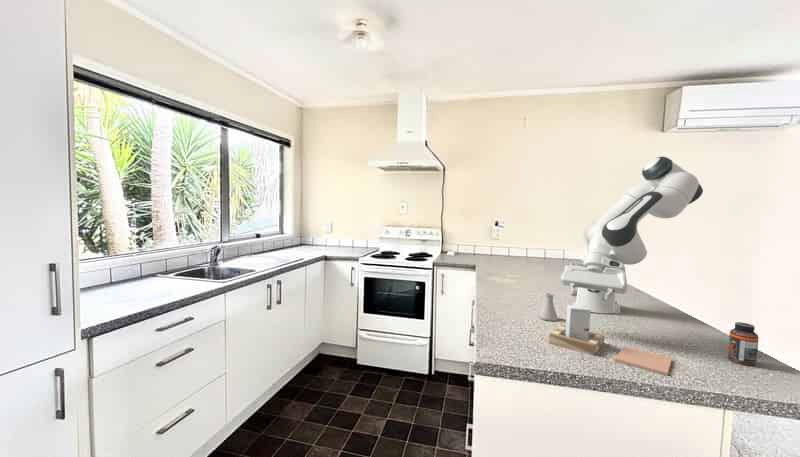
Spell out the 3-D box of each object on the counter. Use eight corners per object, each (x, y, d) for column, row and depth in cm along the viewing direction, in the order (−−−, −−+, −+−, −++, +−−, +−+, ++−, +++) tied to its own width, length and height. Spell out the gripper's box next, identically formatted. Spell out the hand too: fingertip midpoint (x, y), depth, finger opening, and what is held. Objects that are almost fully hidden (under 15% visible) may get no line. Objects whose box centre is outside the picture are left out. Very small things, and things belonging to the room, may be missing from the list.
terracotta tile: (623, 348, 107) (623, 346, 107) (671, 360, 99) (672, 358, 99) (614, 361, 98) (614, 358, 98) (667, 375, 90) (667, 372, 90)
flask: (554, 316, 140) (555, 292, 139) (561, 322, 132) (562, 296, 132) (536, 315, 140) (537, 291, 140) (541, 321, 133) (543, 296, 133)
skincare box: (568, 345, 109) (570, 308, 109) (564, 340, 114) (566, 304, 113) (589, 347, 108) (591, 309, 107) (584, 341, 112) (586, 305, 112)
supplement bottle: (723, 356, 104) (726, 319, 103) (748, 359, 101) (751, 322, 101) (734, 364, 98) (737, 325, 97) (761, 368, 96) (764, 328, 95)
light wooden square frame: (562, 333, 120) (562, 324, 120) (603, 343, 111) (604, 334, 111) (548, 343, 111) (549, 334, 110) (593, 355, 102) (594, 345, 102)
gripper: (564, 257, 128) (554, 287, 121) (629, 264, 114) (622, 298, 107) (567, 268, 131) (558, 297, 125) (630, 275, 118) (624, 309, 111)
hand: (588, 297), depth 116 cm, fingers open, 8 cm apart
